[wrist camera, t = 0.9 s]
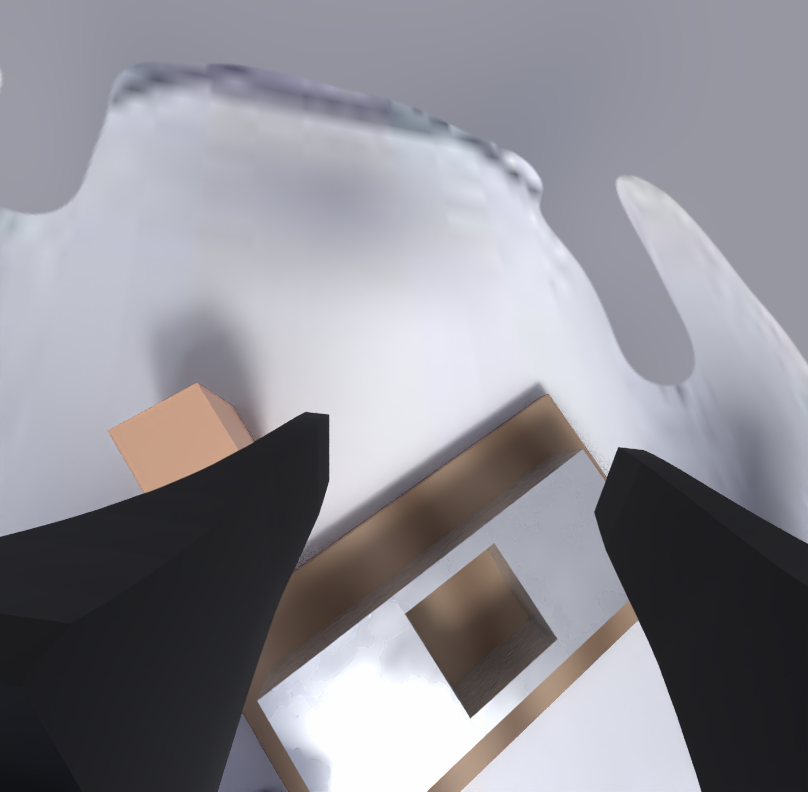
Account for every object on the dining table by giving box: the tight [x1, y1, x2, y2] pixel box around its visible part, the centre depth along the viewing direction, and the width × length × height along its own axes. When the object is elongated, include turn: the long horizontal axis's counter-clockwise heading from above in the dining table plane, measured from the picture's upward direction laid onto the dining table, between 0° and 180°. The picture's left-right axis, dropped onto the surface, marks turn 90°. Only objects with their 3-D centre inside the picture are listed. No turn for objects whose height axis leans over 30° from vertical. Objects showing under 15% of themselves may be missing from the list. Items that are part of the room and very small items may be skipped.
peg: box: [108, 383, 254, 493], centre depth 20 cm, size 4×4×6 cm
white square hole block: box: [257, 449, 629, 792], centre depth 21 cm, size 20×8×3 cm, turn 124°
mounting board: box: [242, 394, 638, 792], centre depth 23 cm, size 24×14×1 cm, turn 124°
